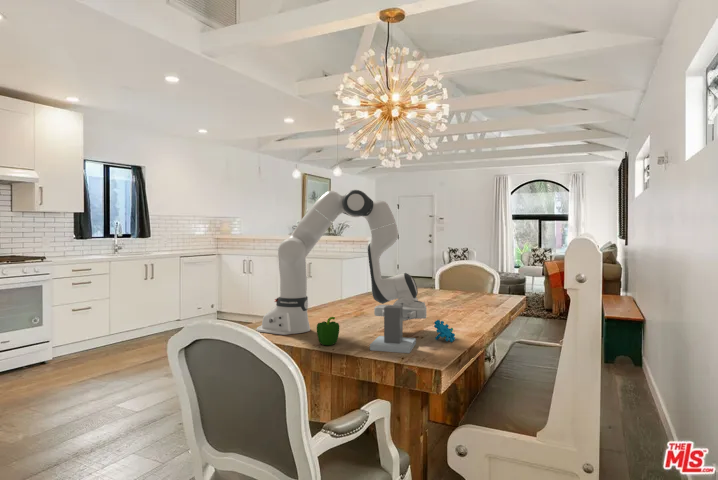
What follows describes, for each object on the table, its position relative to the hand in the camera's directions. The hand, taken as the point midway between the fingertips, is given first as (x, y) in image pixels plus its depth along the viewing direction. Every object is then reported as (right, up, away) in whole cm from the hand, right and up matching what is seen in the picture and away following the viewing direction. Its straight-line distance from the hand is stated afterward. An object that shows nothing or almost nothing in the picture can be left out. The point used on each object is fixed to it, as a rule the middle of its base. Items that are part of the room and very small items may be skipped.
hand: (396, 315), depth 168 cm
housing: (-2, -9, -5) cm, 10 cm away
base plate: (-2, -11, -5) cm, 12 cm away
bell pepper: (-26, -11, -2) cm, 28 cm away
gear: (+19, -11, +5) cm, 22 cm away
